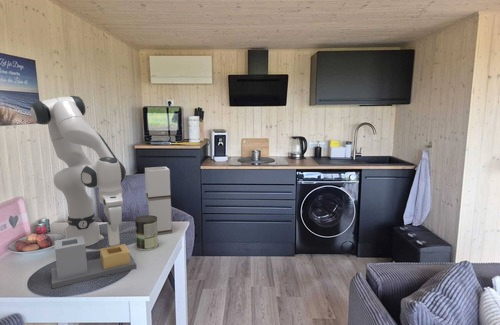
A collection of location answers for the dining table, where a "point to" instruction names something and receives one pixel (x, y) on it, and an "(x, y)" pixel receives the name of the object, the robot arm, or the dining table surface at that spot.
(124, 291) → the dining table surface
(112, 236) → the plug
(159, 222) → the striped beige pillar
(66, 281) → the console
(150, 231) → the coffee can
